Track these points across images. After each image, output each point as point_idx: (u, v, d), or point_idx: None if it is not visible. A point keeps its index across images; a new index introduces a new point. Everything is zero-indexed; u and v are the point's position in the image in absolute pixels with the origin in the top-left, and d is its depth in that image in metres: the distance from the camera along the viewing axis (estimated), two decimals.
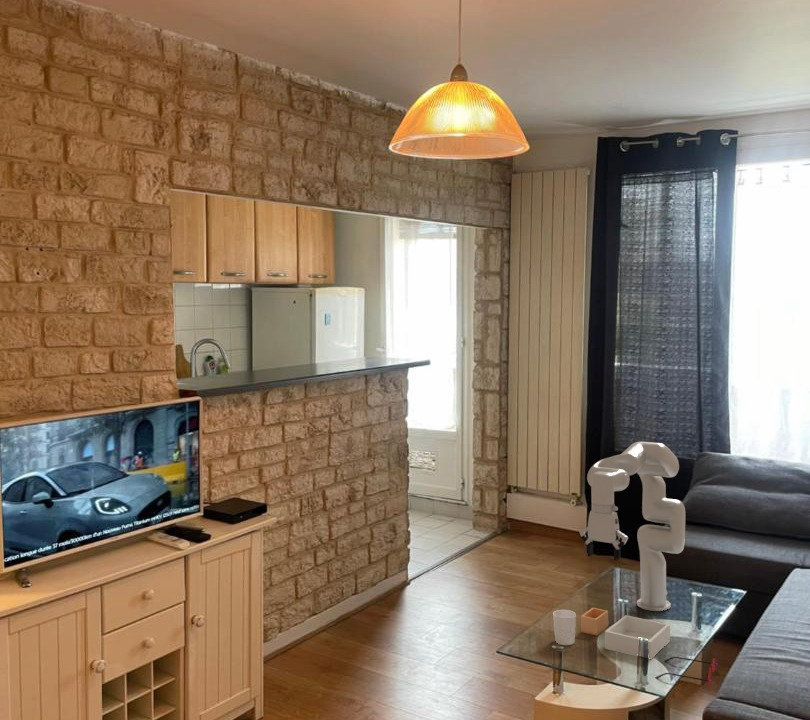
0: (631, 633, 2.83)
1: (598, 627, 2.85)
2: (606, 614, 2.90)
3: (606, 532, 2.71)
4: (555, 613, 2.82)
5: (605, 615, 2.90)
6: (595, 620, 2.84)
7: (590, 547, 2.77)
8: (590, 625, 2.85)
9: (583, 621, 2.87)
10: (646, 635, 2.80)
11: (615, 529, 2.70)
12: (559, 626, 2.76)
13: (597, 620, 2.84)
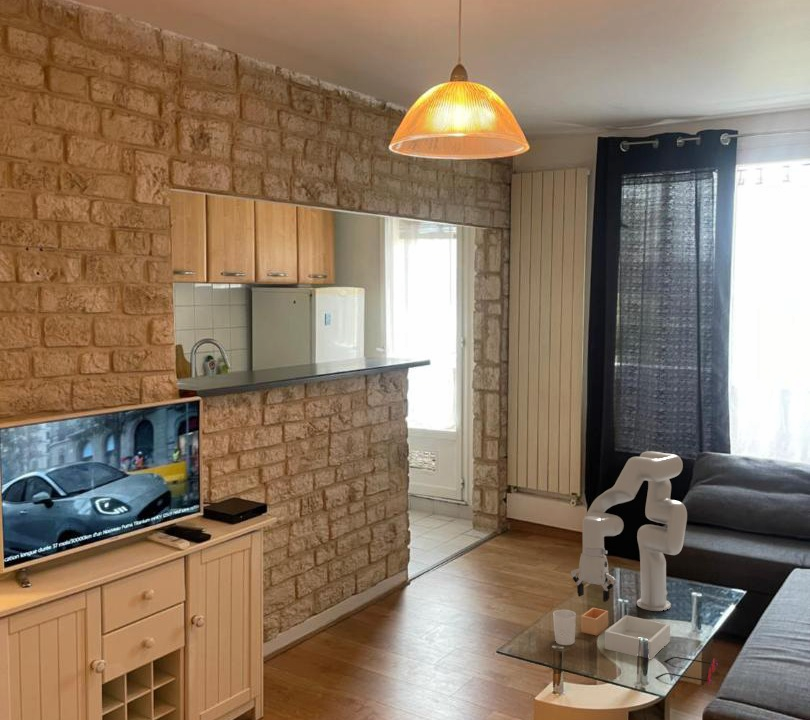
0: (631, 633, 2.83)
1: (598, 627, 2.85)
2: (606, 614, 2.90)
3: (596, 574, 2.85)
4: (555, 613, 2.82)
5: (605, 615, 2.90)
6: (595, 620, 2.84)
7: (581, 588, 2.91)
8: (590, 625, 2.85)
9: (583, 621, 2.87)
10: (646, 635, 2.80)
11: (604, 572, 2.85)
12: (559, 626, 2.76)
13: (597, 620, 2.84)
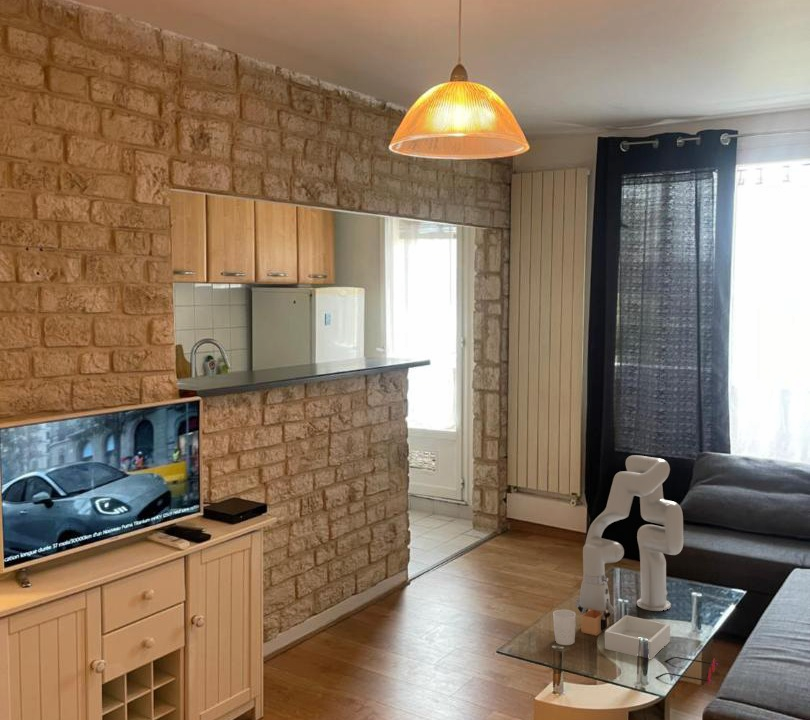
0: (631, 633, 2.83)
1: (598, 627, 2.85)
2: None
3: (597, 602, 2.86)
4: (555, 613, 2.82)
5: None
6: (595, 619, 2.84)
7: None
8: (590, 624, 2.85)
9: (583, 621, 2.87)
10: (646, 635, 2.80)
11: (605, 599, 2.85)
12: (559, 626, 2.76)
13: (597, 620, 2.84)
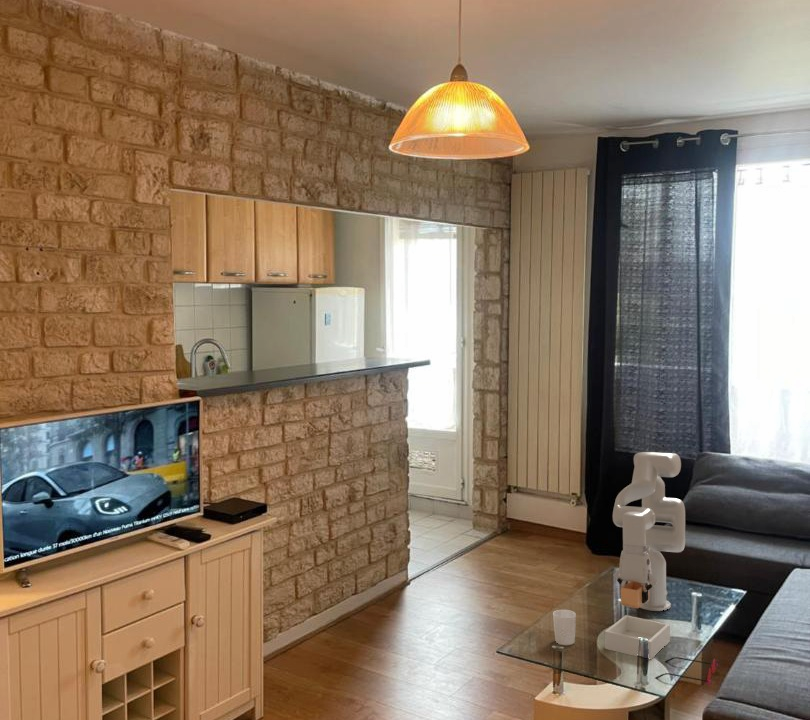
0: (631, 633, 2.83)
1: (639, 599, 2.70)
2: None
3: (638, 573, 2.71)
4: (555, 613, 2.82)
5: None
6: (636, 591, 2.69)
7: None
8: (630, 597, 2.70)
9: (623, 593, 2.72)
10: (646, 635, 2.80)
11: (647, 570, 2.70)
12: (559, 626, 2.76)
13: (638, 592, 2.69)
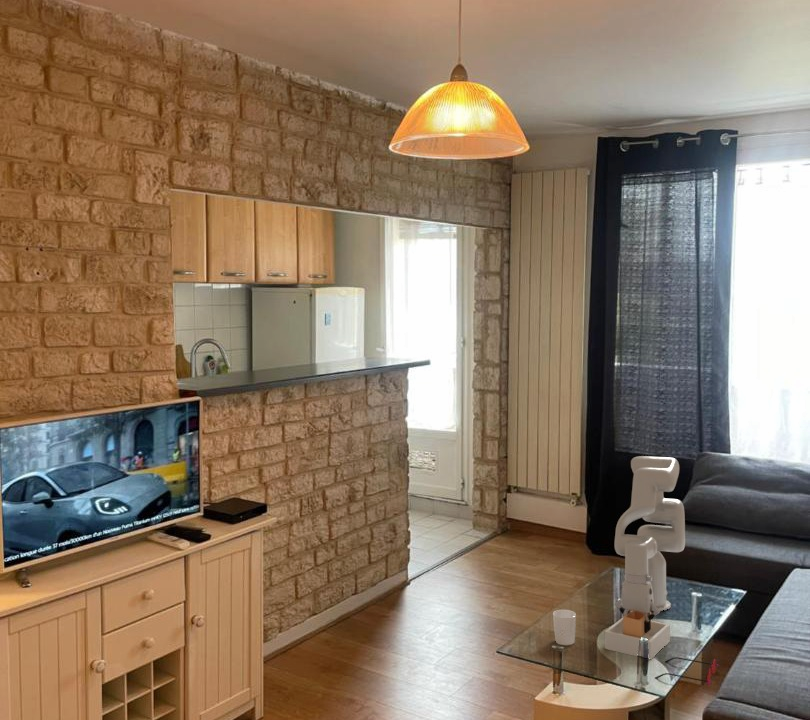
0: None
1: (641, 629, 2.70)
2: None
3: (640, 602, 2.71)
4: (555, 613, 2.82)
5: None
6: (638, 621, 2.69)
7: None
8: (633, 626, 2.70)
9: (625, 622, 2.71)
10: (646, 635, 2.80)
11: (649, 599, 2.70)
12: (559, 626, 2.76)
13: (640, 621, 2.69)
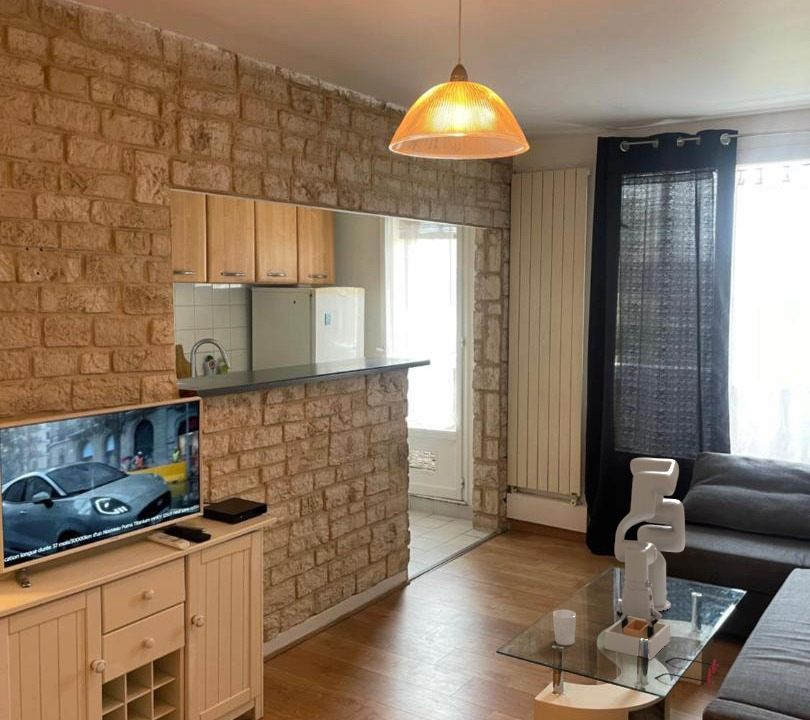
0: None
1: None
2: None
3: (640, 608, 2.71)
4: (555, 613, 2.82)
5: None
6: (638, 632, 2.69)
7: (625, 623, 2.76)
8: None
9: (625, 633, 2.72)
10: None
11: (649, 605, 2.70)
12: (559, 626, 2.76)
13: (641, 632, 2.69)
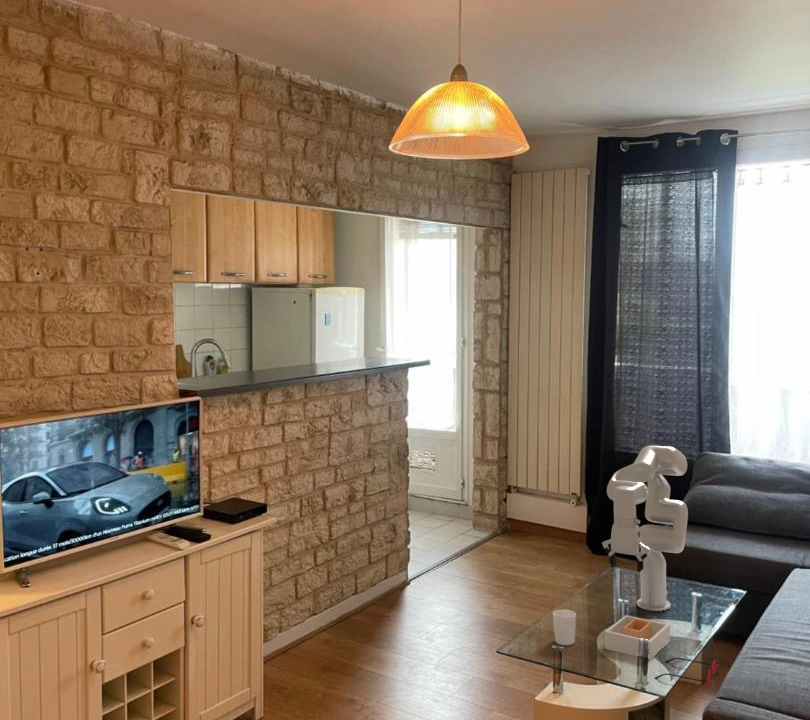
0: None
1: None
2: (649, 626, 2.75)
3: (629, 545, 2.79)
4: (555, 613, 2.82)
5: (648, 627, 2.75)
6: (638, 632, 2.69)
7: (613, 559, 2.85)
8: None
9: (625, 633, 2.72)
10: None
11: (638, 542, 2.79)
12: (559, 626, 2.76)
13: (641, 632, 2.69)
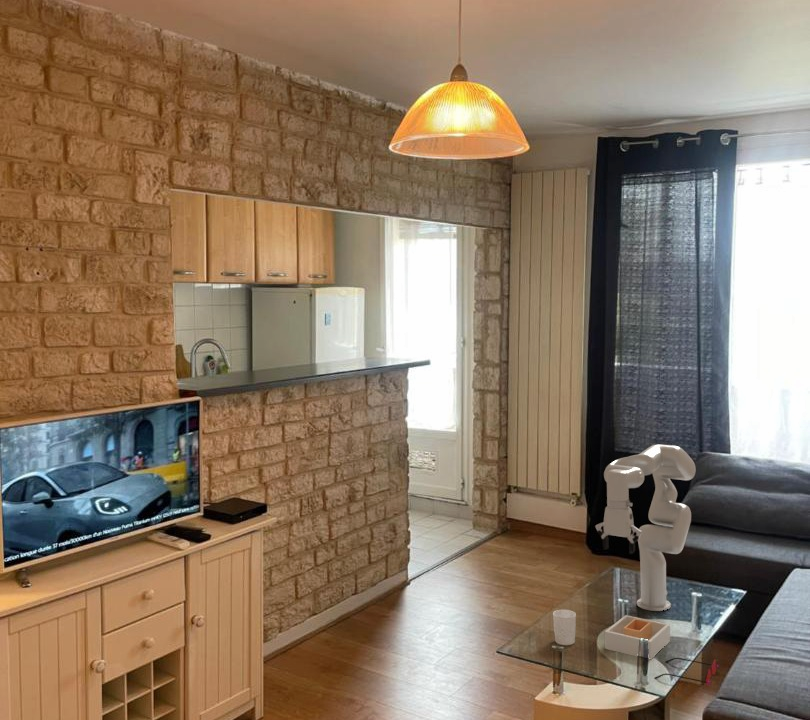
0: None
1: None
2: (649, 626, 2.75)
3: (621, 527, 2.85)
4: (555, 613, 2.82)
5: (648, 627, 2.75)
6: (638, 632, 2.69)
7: (606, 541, 2.91)
8: None
9: (625, 633, 2.72)
10: None
11: (630, 524, 2.84)
12: (559, 626, 2.76)
13: (641, 632, 2.69)
